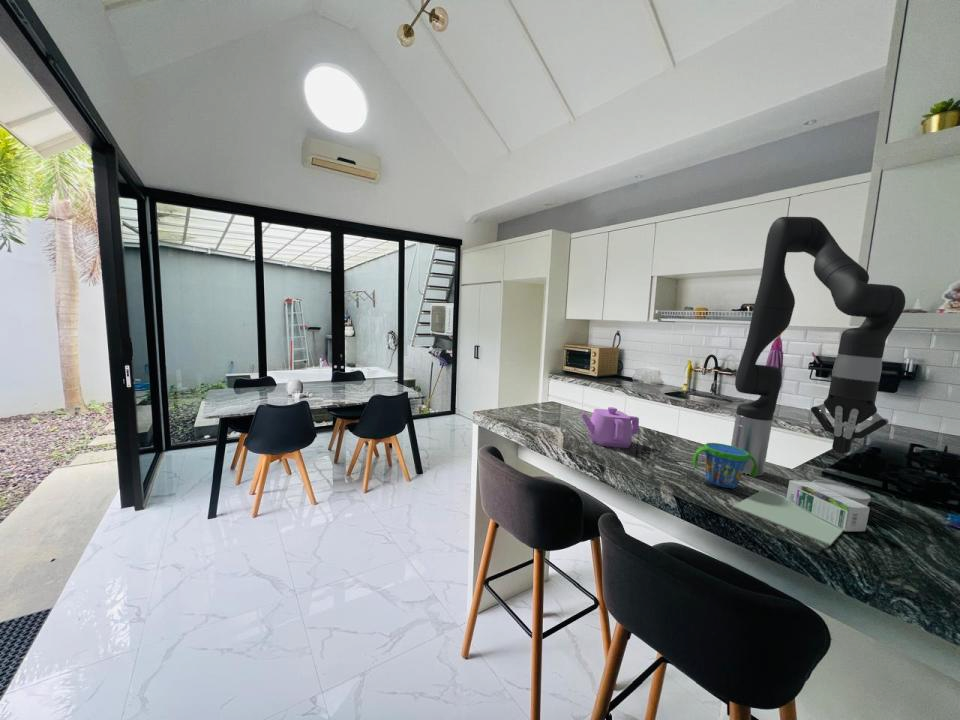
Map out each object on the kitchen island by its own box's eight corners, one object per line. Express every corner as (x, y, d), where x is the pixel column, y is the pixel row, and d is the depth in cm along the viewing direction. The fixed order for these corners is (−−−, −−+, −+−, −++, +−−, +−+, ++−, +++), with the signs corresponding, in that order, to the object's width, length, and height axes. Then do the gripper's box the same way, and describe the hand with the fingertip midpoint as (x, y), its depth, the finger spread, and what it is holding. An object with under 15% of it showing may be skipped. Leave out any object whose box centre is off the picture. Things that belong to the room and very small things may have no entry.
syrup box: (845, 532, 85) (783, 500, 100) (867, 531, 86) (803, 500, 101) (850, 507, 85) (787, 479, 99) (872, 507, 86) (806, 479, 100)
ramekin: (829, 497, 106) (833, 479, 105) (879, 519, 95) (883, 498, 94) (797, 498, 103) (800, 479, 103) (844, 520, 92) (848, 499, 92)
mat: (762, 491, 106) (762, 489, 106) (851, 521, 92) (852, 520, 92) (732, 507, 94) (732, 505, 94) (830, 545, 80) (830, 543, 80)
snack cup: (747, 483, 111) (753, 448, 110) (760, 497, 101) (766, 460, 100) (686, 471, 116) (691, 438, 115) (693, 484, 106) (698, 448, 105)
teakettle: (620, 452, 129) (625, 416, 128) (575, 438, 141) (579, 404, 140) (641, 443, 141) (645, 410, 140) (598, 431, 153) (602, 400, 152)
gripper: (902, 381, 82) (885, 461, 84) (820, 371, 92) (807, 442, 94) (896, 383, 77) (878, 467, 79) (811, 372, 88) (798, 446, 90)
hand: (840, 453), depth 87 cm, fingers closed
